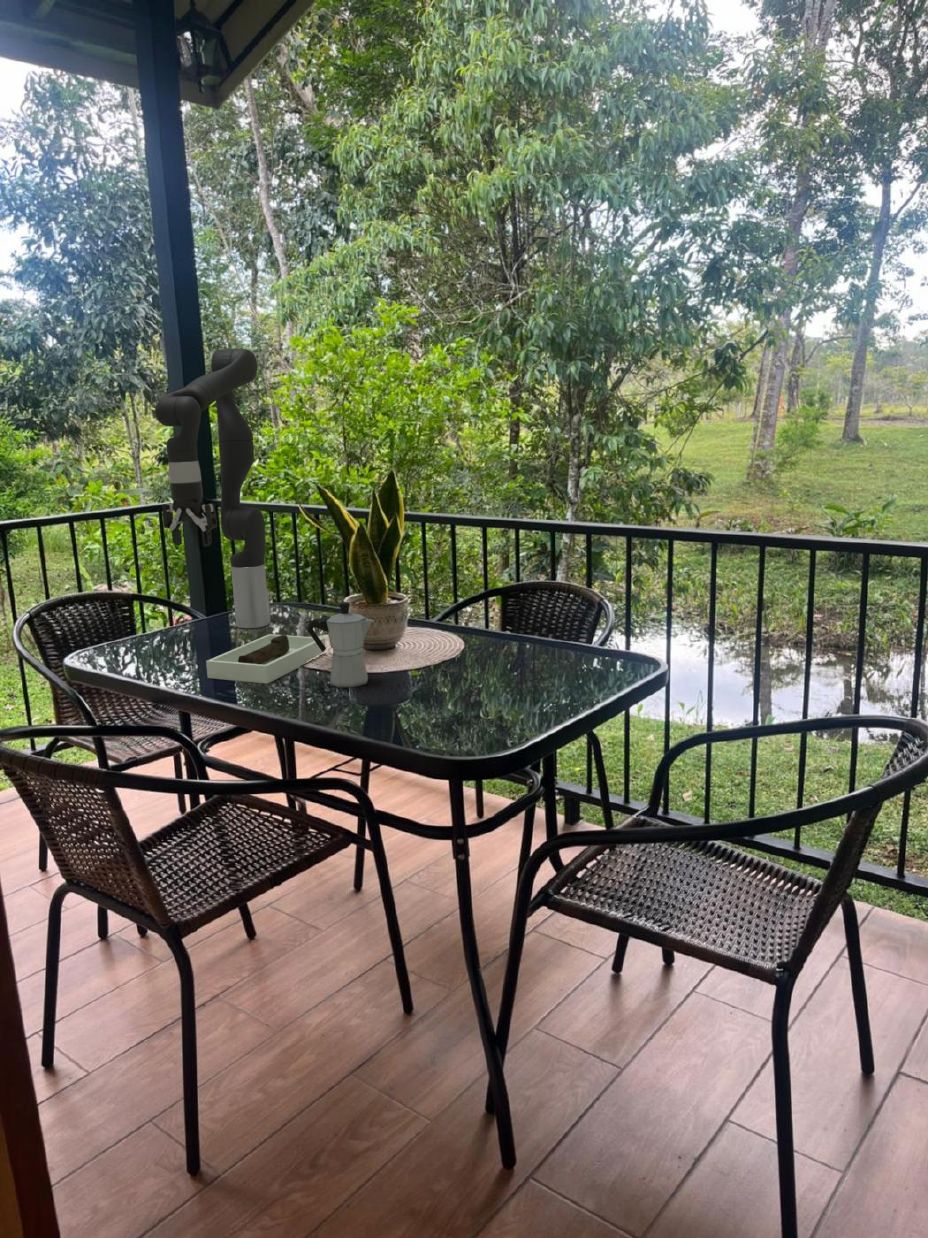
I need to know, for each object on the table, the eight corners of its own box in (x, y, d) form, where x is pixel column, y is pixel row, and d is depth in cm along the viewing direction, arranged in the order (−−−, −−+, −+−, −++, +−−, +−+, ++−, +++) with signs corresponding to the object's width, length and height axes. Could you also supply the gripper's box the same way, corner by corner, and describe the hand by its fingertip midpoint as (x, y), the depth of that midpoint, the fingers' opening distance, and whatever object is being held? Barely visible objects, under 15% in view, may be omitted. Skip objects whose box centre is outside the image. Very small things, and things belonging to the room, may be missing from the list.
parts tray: (270, 649, 236) (269, 634, 235) (325, 653, 230) (324, 638, 229) (207, 678, 212) (206, 661, 211) (267, 683, 206) (266, 666, 206)
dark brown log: (252, 672, 212) (250, 653, 211) (238, 671, 213) (236, 651, 212) (298, 652, 229) (297, 633, 228) (284, 650, 230) (283, 632, 229)
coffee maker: (379, 675, 210) (375, 597, 206) (375, 687, 202) (371, 606, 198) (314, 676, 211) (308, 599, 207) (307, 688, 202) (301, 607, 198)
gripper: (219, 478, 229) (225, 543, 233) (171, 478, 234) (178, 542, 238) (200, 481, 222) (207, 548, 226) (151, 481, 227) (159, 547, 231)
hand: (192, 545), depth 232 cm, fingers open, 8 cm apart
